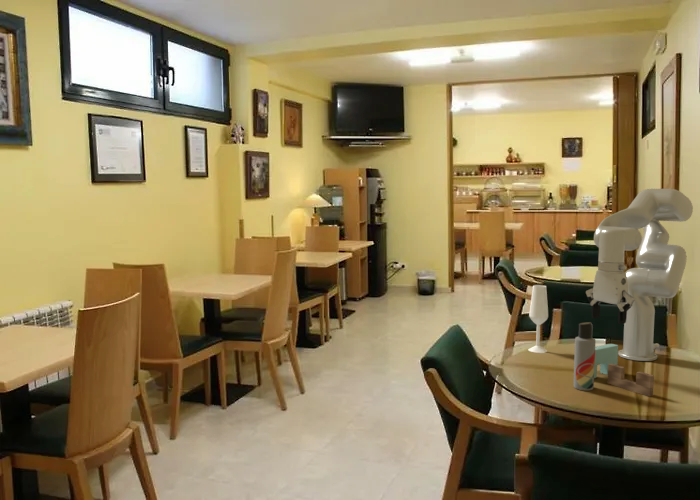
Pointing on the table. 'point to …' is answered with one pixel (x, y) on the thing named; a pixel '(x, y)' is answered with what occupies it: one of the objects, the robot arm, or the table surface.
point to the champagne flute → (538, 313)
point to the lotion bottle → (584, 358)
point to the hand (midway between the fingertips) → (608, 320)
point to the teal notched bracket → (605, 357)
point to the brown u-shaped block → (640, 386)
